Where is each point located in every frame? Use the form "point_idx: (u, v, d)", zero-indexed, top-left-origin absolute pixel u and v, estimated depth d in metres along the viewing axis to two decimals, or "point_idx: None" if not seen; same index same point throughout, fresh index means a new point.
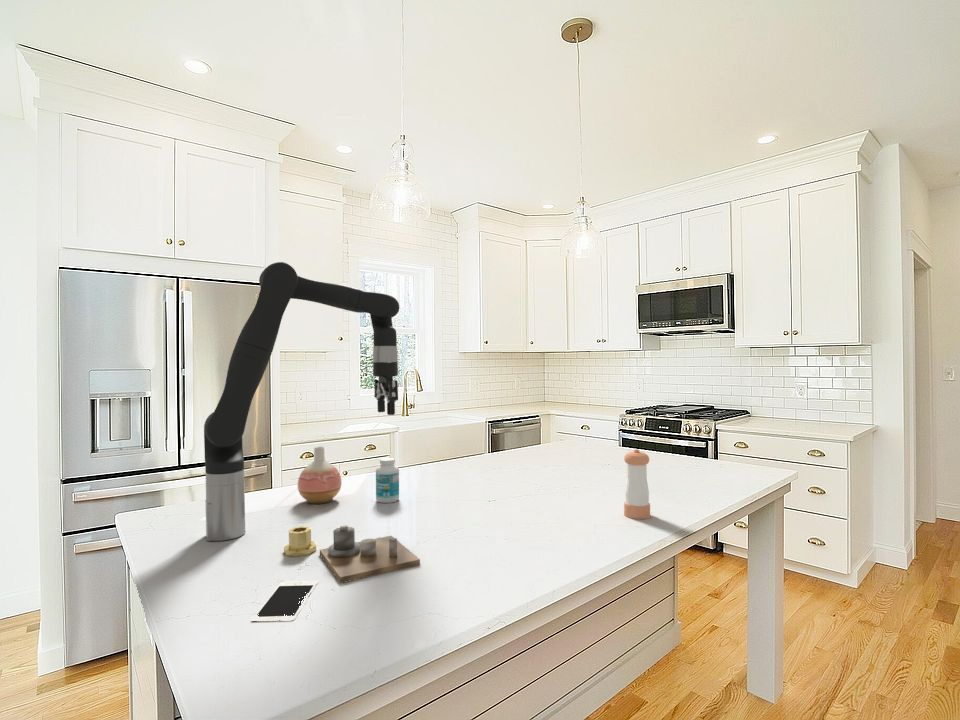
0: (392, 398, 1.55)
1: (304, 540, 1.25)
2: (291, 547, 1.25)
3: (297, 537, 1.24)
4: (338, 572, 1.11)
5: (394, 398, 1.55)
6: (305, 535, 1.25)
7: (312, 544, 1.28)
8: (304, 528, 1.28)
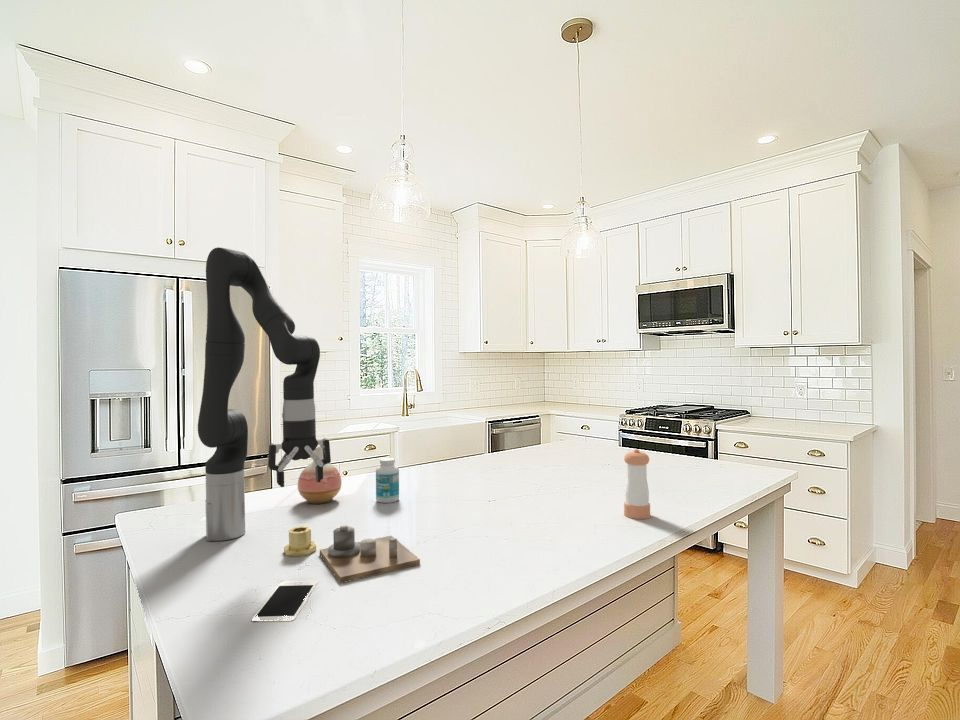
0: None
1: (304, 540, 1.25)
2: (291, 547, 1.25)
3: (297, 537, 1.24)
4: (338, 572, 1.11)
5: None
6: (305, 535, 1.25)
7: (312, 544, 1.28)
8: (304, 528, 1.28)
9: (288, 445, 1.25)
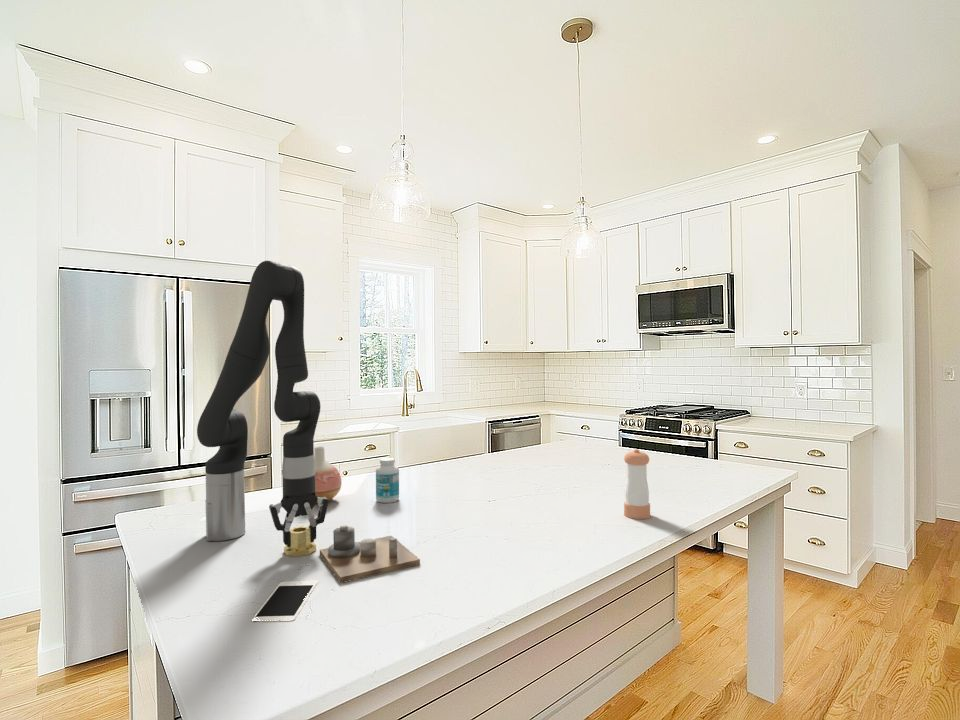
0: None
1: (304, 540, 1.25)
2: (291, 547, 1.25)
3: (297, 537, 1.24)
4: (338, 572, 1.11)
5: None
6: (305, 535, 1.25)
7: (312, 544, 1.28)
8: (304, 528, 1.28)
9: (287, 502, 1.24)
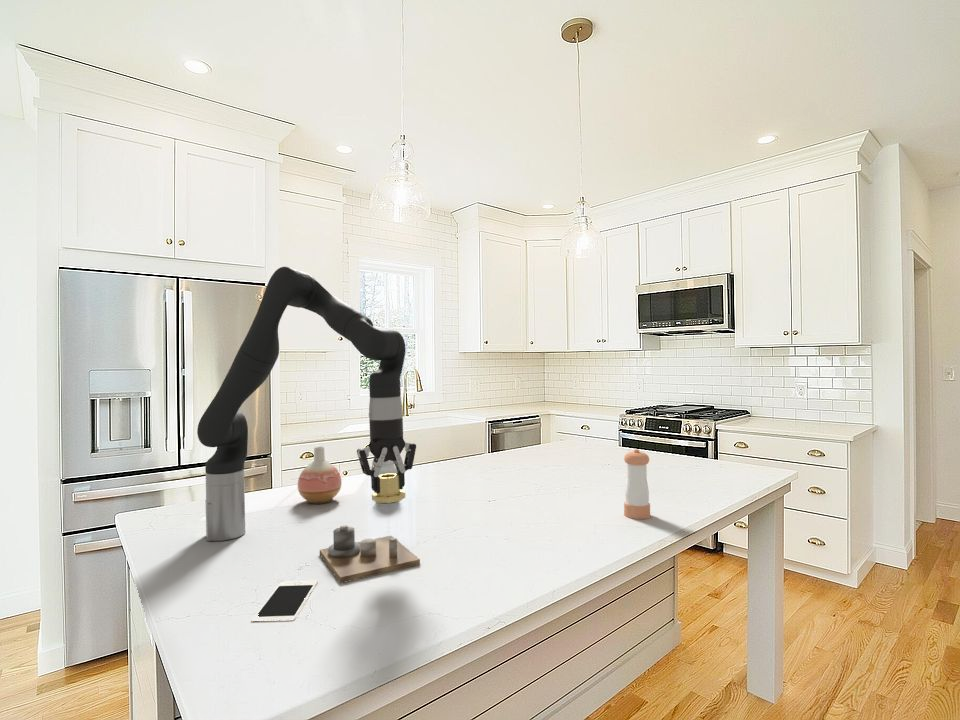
0: None
1: (394, 486, 1.18)
2: (381, 493, 1.18)
3: (387, 482, 1.17)
4: (338, 572, 1.11)
5: None
6: (395, 481, 1.18)
7: (401, 491, 1.21)
8: (391, 475, 1.21)
9: (376, 446, 1.17)
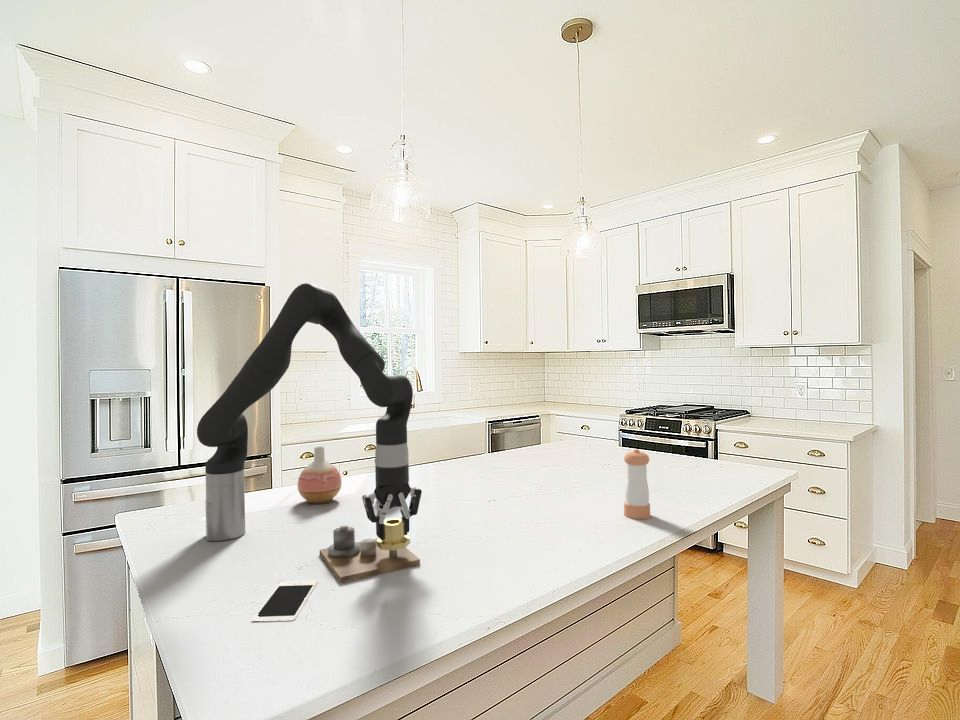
0: None
1: (399, 533, 1.18)
2: (385, 540, 1.17)
3: (392, 529, 1.17)
4: (338, 572, 1.11)
5: None
6: (400, 527, 1.18)
7: (405, 537, 1.20)
8: (396, 520, 1.21)
9: (381, 492, 1.17)
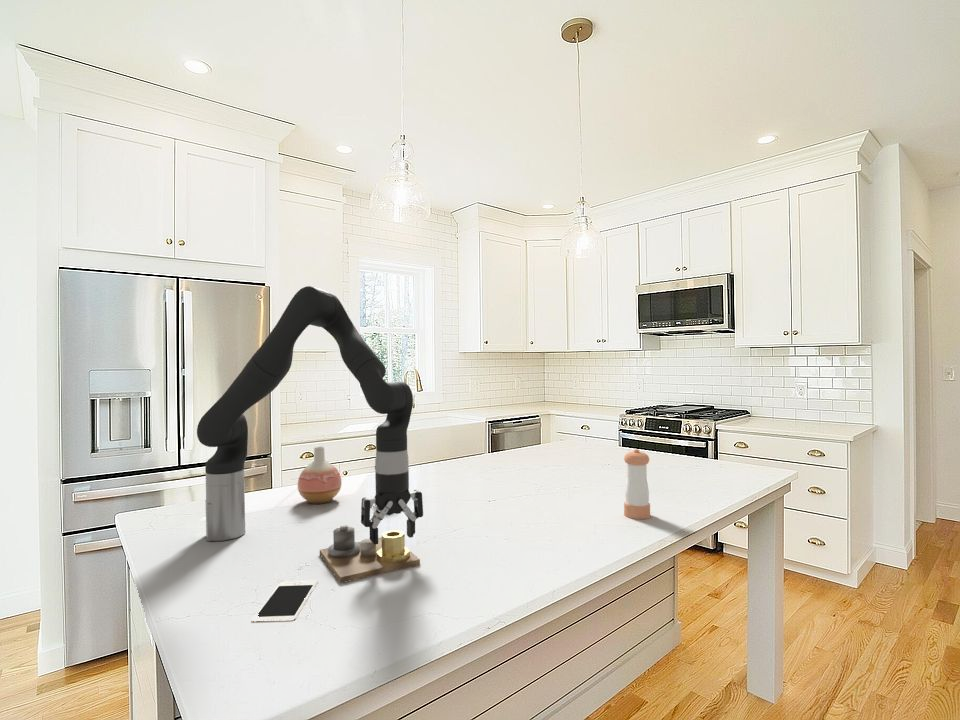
0: None
1: (399, 545, 1.18)
2: (385, 553, 1.17)
3: (392, 542, 1.17)
4: (338, 572, 1.11)
5: None
6: (400, 540, 1.18)
7: (405, 549, 1.21)
8: (396, 532, 1.21)
9: (382, 499, 1.17)
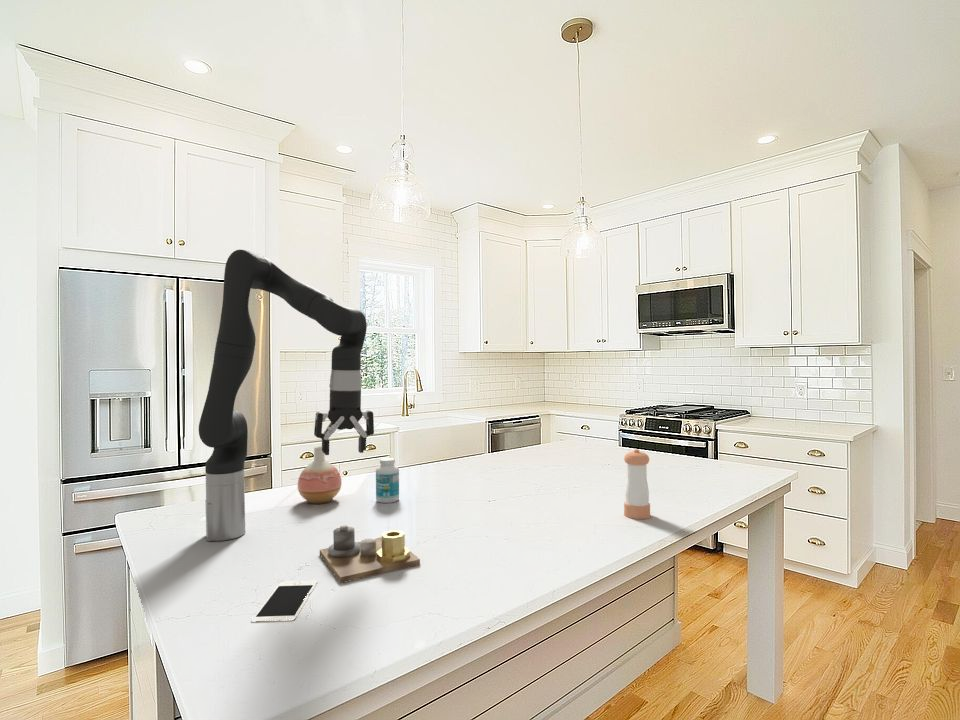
0: None
1: (399, 545, 1.18)
2: (385, 553, 1.17)
3: (392, 542, 1.17)
4: (338, 572, 1.11)
5: None
6: (400, 540, 1.18)
7: (405, 549, 1.21)
8: (396, 532, 1.21)
9: (334, 414, 1.27)
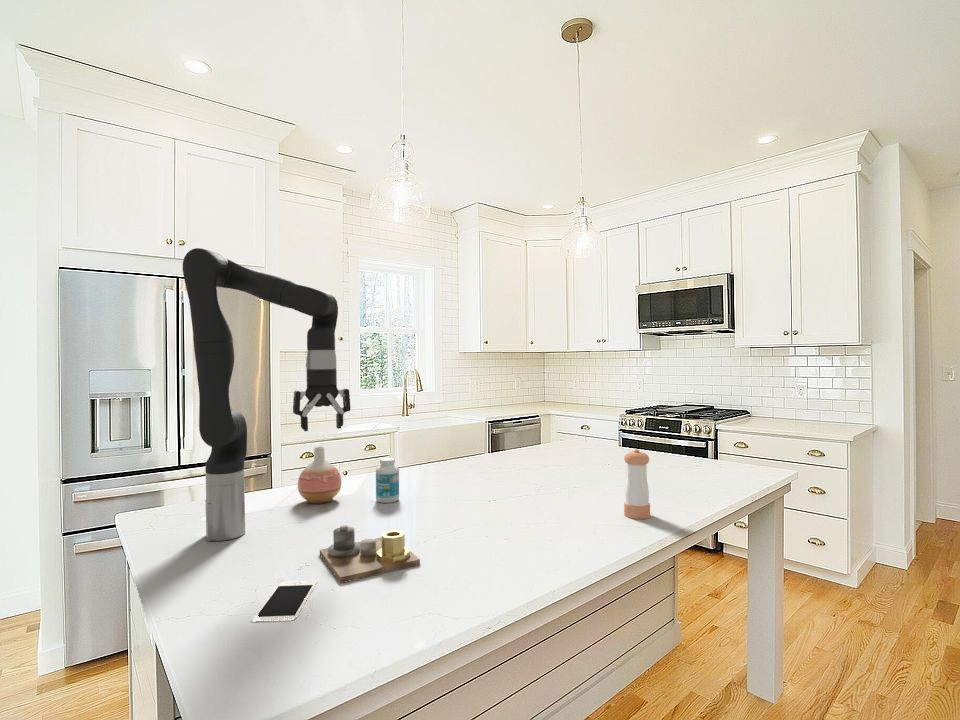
0: None
1: (399, 545, 1.18)
2: (385, 553, 1.17)
3: (392, 542, 1.17)
4: (338, 572, 1.11)
5: None
6: (400, 540, 1.18)
7: (405, 549, 1.21)
8: (396, 532, 1.21)
9: (311, 392, 1.34)
